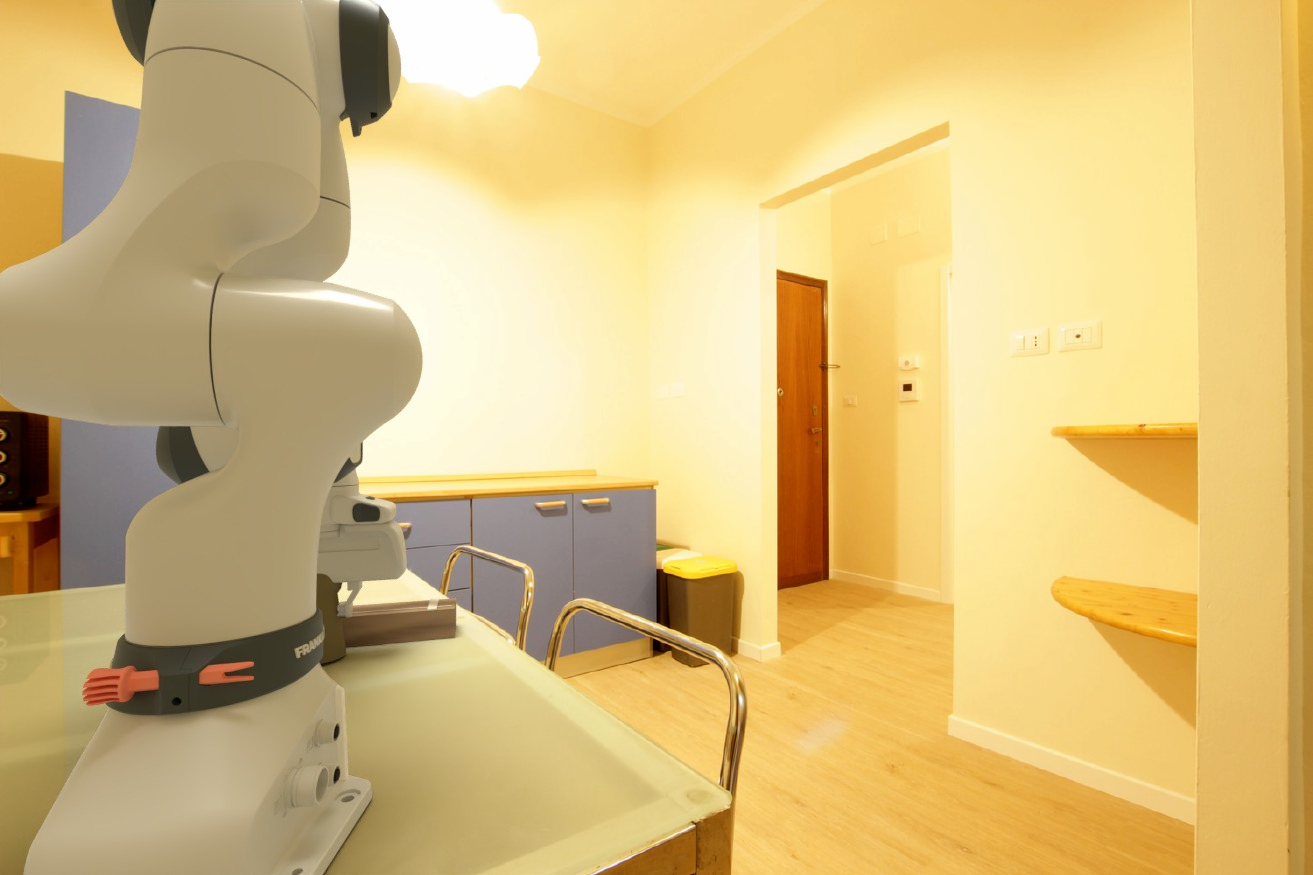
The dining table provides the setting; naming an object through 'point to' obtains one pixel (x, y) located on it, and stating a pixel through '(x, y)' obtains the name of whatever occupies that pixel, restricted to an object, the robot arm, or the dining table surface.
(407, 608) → the walnut plank
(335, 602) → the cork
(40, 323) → the robot arm
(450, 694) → the dining table surface
